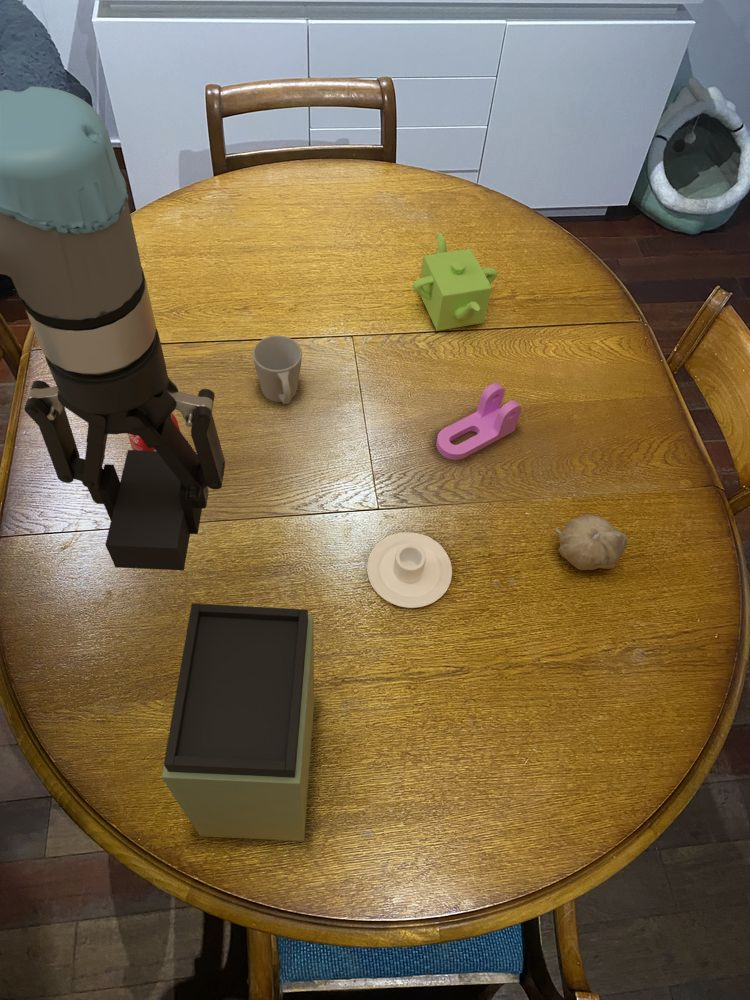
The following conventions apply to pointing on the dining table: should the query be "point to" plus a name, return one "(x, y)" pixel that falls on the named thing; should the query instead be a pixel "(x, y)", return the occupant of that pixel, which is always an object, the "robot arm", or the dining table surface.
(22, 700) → the dining table surface
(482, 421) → the bracket
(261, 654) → the base pad
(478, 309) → the green knobbed cube
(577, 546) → the garlic bulb
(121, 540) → the top pad
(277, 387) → the cup
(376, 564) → the candle holder
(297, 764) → the tray
